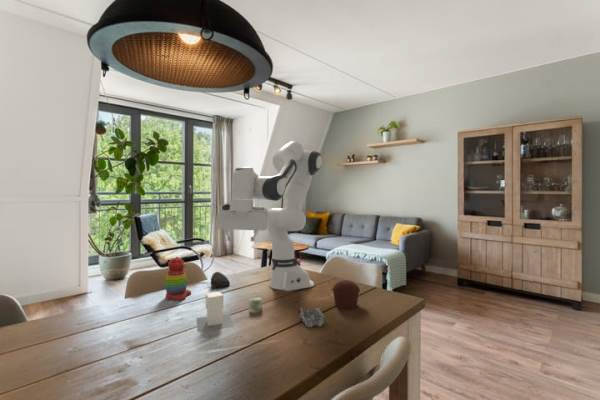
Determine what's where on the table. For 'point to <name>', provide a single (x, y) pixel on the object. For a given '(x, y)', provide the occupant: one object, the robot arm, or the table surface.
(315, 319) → the grey jagged lump
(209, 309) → the tower top
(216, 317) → the tower bottom
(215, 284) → the stone
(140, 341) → the table surface
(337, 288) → the muffin
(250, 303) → the drum
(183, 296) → the stacking bear
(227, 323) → the coaster
